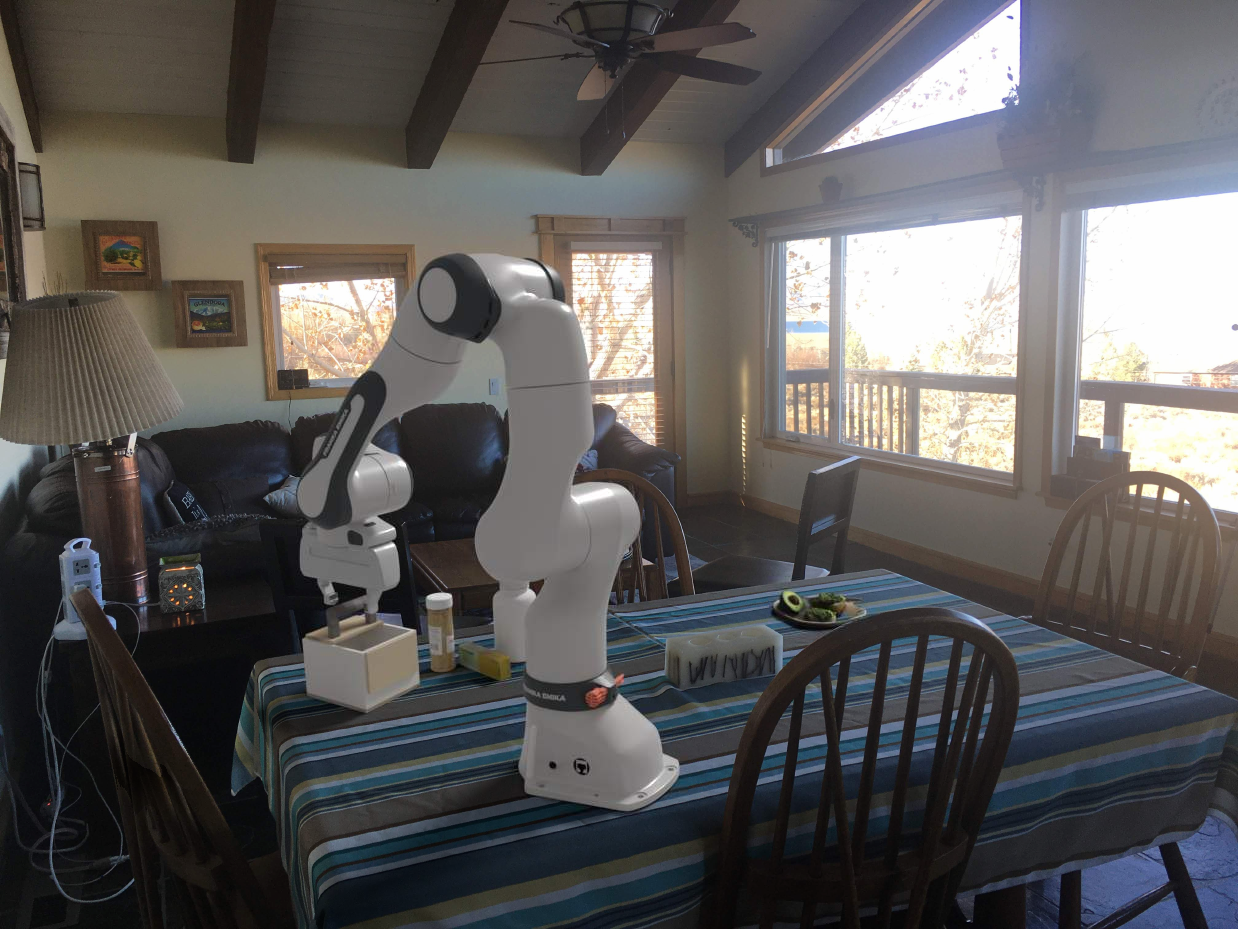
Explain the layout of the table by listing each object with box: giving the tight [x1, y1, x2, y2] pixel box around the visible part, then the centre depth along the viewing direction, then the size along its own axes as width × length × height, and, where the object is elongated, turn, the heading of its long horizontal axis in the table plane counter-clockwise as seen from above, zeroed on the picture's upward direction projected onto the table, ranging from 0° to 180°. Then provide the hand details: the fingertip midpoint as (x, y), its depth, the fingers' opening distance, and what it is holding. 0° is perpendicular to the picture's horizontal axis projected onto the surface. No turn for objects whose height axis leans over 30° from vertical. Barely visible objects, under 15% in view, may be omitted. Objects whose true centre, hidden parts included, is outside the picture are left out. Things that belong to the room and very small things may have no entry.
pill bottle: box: [492, 581, 537, 664], centre depth 169 cm, size 8×8×15 cm
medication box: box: [457, 640, 512, 682], centre depth 163 cm, size 12×3×4 cm, turn 46°
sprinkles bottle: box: [425, 592, 457, 673], centre depth 164 cm, size 5×5×14 cm
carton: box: [301, 622, 421, 714], centre depth 155 cm, size 15×12×10 cm
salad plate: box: [771, 589, 868, 630], centre depth 189 cm, size 19×18×5 cm
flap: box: [305, 593, 384, 644], centre depth 155 cm, size 7×11×6 cm, turn 148°
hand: (351, 608), depth 154 cm, fingers open, 8 cm apart
